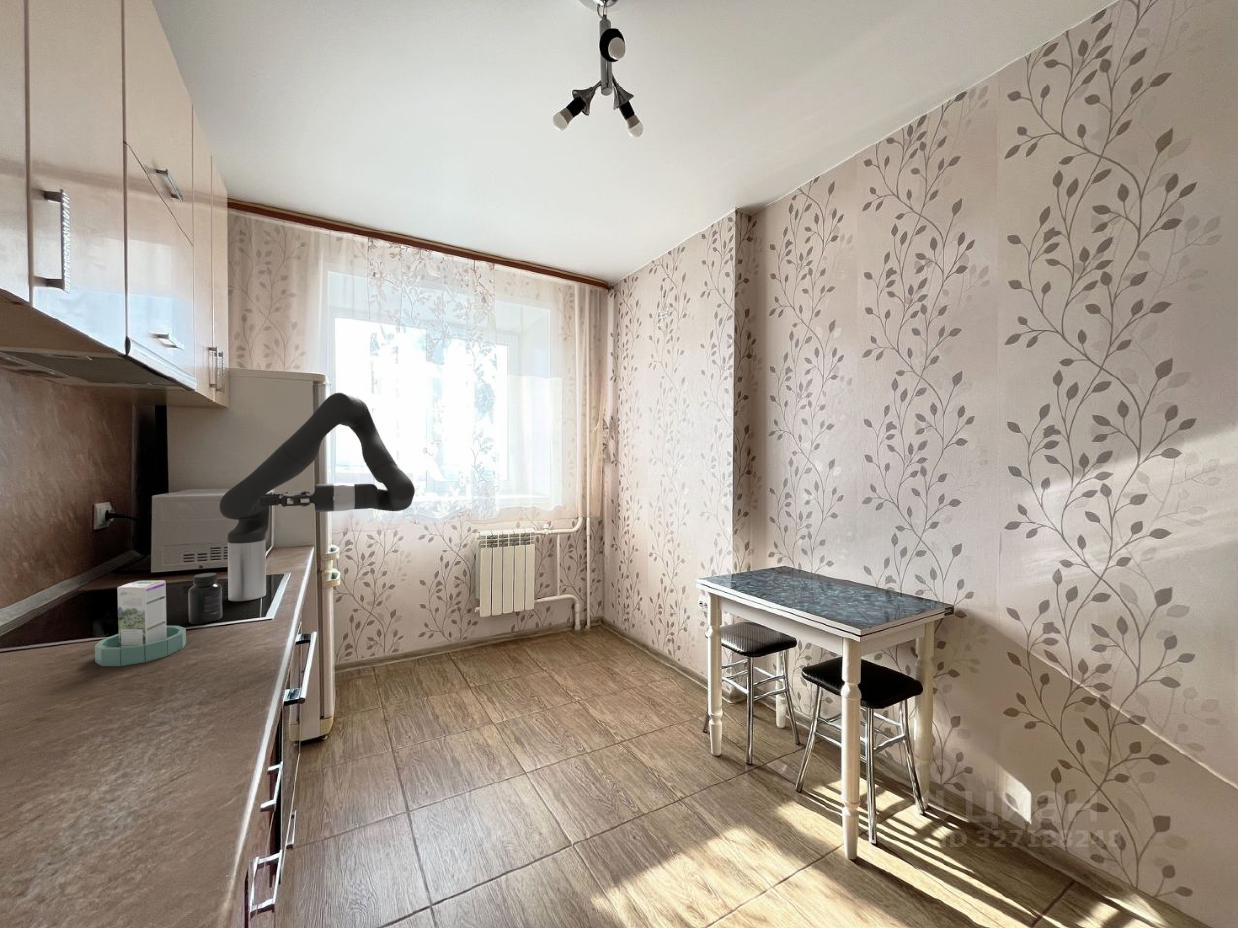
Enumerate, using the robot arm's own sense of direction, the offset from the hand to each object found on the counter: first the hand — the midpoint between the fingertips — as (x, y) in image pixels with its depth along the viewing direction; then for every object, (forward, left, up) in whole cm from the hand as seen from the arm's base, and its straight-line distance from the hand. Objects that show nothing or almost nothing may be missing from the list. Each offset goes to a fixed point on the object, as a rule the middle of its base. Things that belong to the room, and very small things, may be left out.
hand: (261, 500), depth 127 cm
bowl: (+8, -21, -32) cm, 39 cm away
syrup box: (+8, -21, -31) cm, 38 cm away
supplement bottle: (-12, -13, -32) cm, 37 cm away
